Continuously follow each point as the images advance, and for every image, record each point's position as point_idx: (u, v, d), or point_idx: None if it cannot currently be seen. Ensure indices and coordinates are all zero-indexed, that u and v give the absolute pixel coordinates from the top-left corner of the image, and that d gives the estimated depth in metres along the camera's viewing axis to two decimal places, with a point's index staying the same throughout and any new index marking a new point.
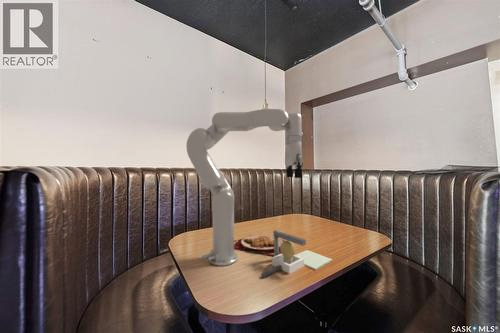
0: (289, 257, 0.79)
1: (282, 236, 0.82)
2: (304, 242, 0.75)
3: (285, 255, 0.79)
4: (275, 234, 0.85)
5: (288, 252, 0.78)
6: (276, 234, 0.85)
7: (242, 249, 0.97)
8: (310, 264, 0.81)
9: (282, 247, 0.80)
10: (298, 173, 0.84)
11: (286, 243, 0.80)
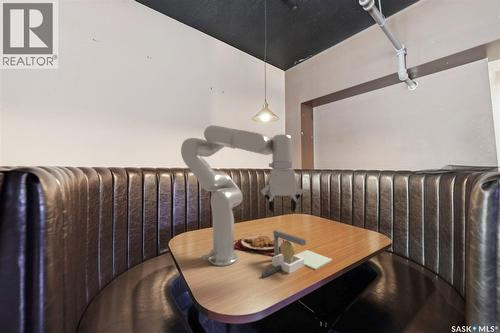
0: (289, 257, 0.79)
1: (282, 236, 0.82)
2: (304, 242, 0.75)
3: (285, 255, 0.79)
4: (275, 234, 0.85)
5: (288, 252, 0.78)
6: (276, 234, 0.85)
7: (242, 249, 0.97)
8: (310, 264, 0.81)
9: (282, 247, 0.80)
10: None
11: (286, 243, 0.80)
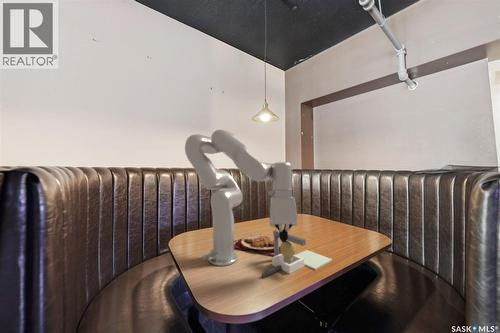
0: (289, 257, 0.79)
1: None
2: (304, 242, 0.75)
3: (285, 255, 0.79)
4: (275, 234, 0.85)
5: (288, 252, 0.78)
6: (276, 234, 0.85)
7: (242, 249, 0.97)
8: (310, 264, 0.81)
9: (282, 247, 0.80)
10: None
11: (286, 243, 0.80)
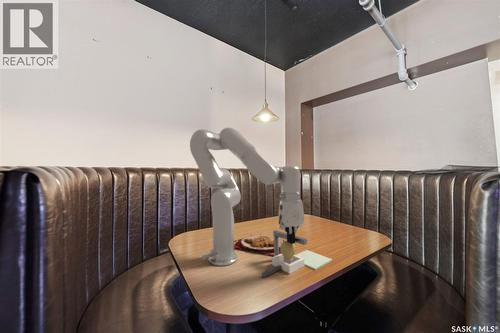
0: (289, 257, 0.79)
1: (283, 236, 0.83)
2: (306, 241, 0.76)
3: (285, 255, 0.79)
4: (275, 234, 0.85)
5: (288, 252, 0.78)
6: (276, 234, 0.85)
7: (242, 249, 0.97)
8: (310, 264, 0.81)
9: (282, 247, 0.80)
10: None
11: (286, 243, 0.80)
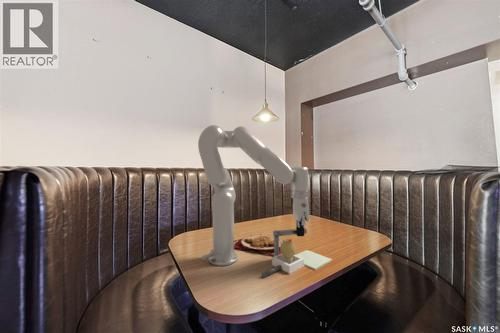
0: (289, 257, 0.79)
1: (286, 233, 0.87)
2: None
3: (285, 255, 0.79)
4: (278, 234, 0.85)
5: (288, 252, 0.78)
6: (279, 233, 0.86)
7: (242, 249, 0.97)
8: (310, 264, 0.81)
9: (282, 247, 0.80)
10: None
11: (286, 243, 0.80)
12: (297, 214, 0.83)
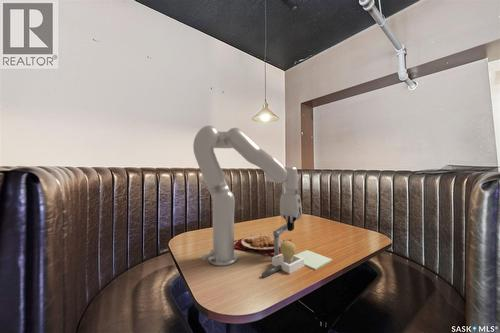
0: (289, 257, 0.79)
1: (282, 231, 0.90)
2: None
3: (285, 255, 0.79)
4: (279, 233, 0.86)
5: (288, 252, 0.78)
6: (279, 233, 0.87)
7: (242, 249, 0.97)
8: (310, 264, 0.81)
9: (282, 247, 0.80)
10: None
11: (286, 243, 0.80)
12: (294, 210, 0.90)
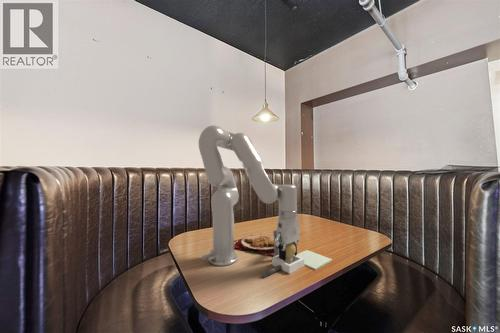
0: (289, 257, 0.79)
1: None
2: None
3: None
4: None
5: (288, 252, 0.78)
6: None
7: (242, 249, 0.97)
8: (310, 264, 0.81)
9: None
10: None
11: None
12: None
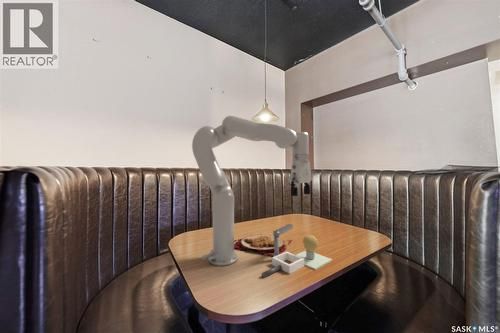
0: (312, 250, 0.85)
1: (283, 231, 0.89)
2: None
3: (308, 248, 0.84)
4: (279, 233, 0.86)
5: (311, 245, 0.83)
6: (279, 233, 0.87)
7: (242, 249, 0.97)
8: (310, 264, 0.81)
9: (305, 241, 0.85)
10: None
11: (309, 237, 0.85)
12: None
